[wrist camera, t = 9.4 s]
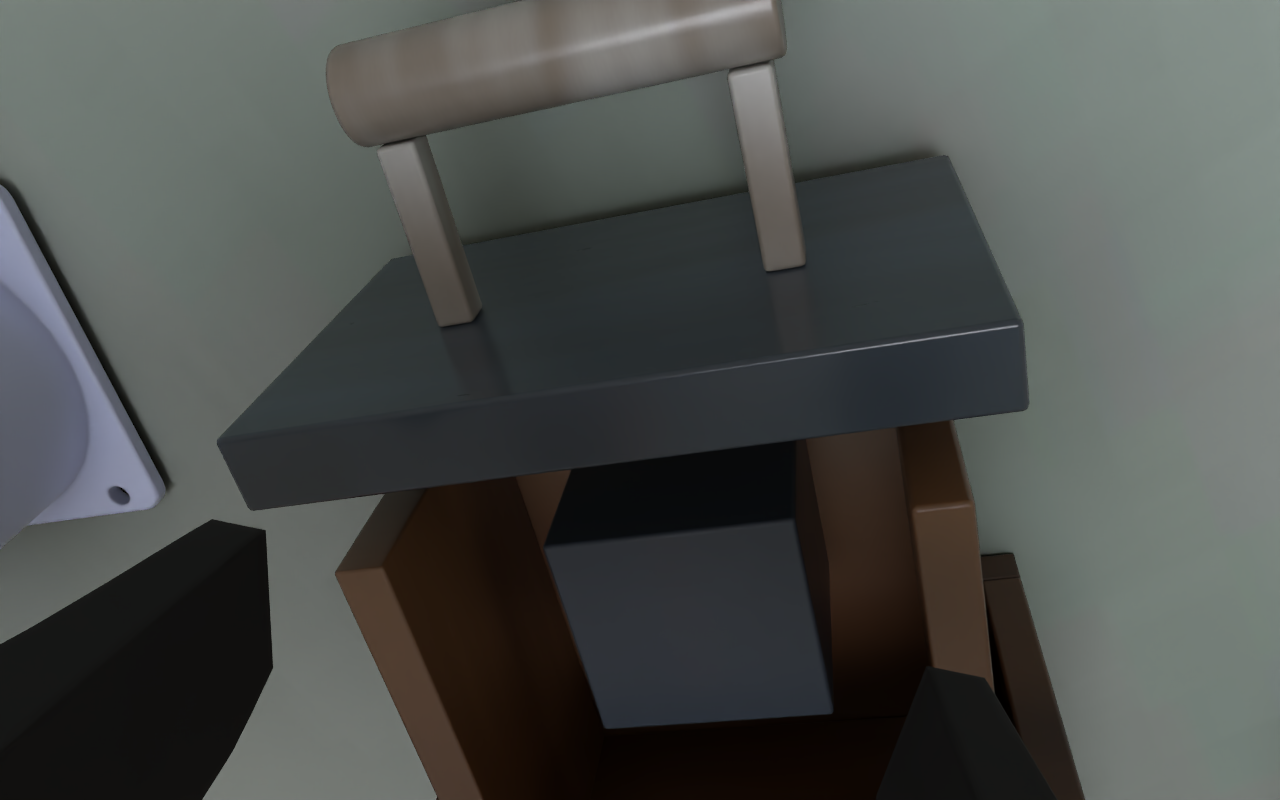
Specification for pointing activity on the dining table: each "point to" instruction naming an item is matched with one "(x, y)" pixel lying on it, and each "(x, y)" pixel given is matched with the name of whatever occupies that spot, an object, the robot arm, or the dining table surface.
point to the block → (697, 586)
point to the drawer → (638, 405)
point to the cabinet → (1025, 676)
